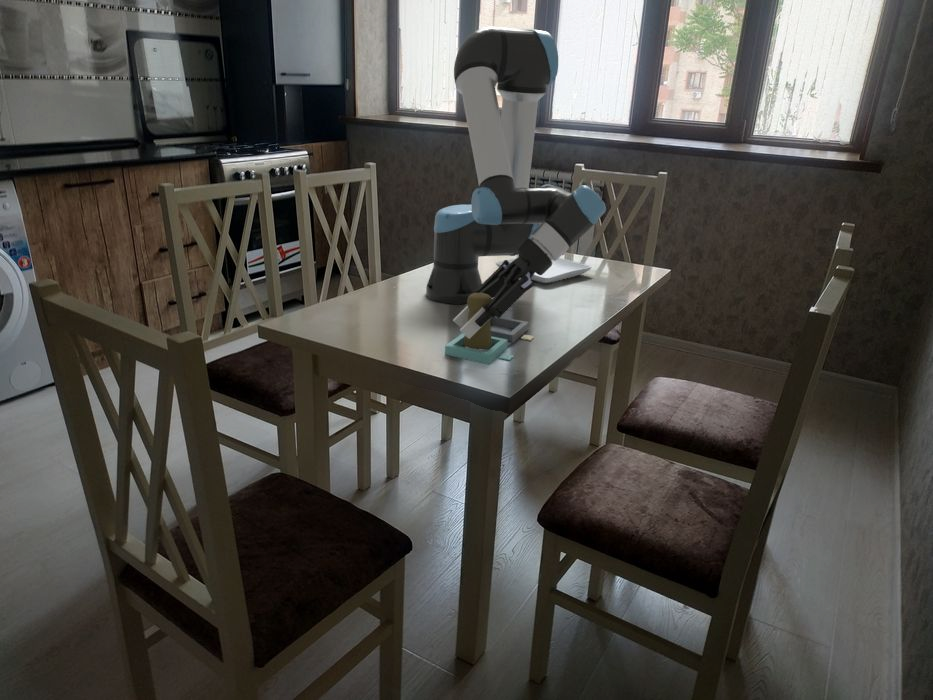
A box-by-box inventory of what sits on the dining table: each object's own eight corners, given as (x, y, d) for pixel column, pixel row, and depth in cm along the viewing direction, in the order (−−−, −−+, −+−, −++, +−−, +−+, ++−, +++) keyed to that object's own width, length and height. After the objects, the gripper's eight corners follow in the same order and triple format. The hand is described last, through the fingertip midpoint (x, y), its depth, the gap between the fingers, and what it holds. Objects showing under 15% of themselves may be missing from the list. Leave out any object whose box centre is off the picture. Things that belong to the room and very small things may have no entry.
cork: (485, 337, 144) (487, 288, 140) (496, 347, 139) (499, 297, 134) (459, 340, 142) (461, 291, 138) (469, 350, 136) (471, 299, 132)
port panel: (444, 354, 138) (445, 345, 138) (488, 322, 158) (488, 314, 157) (502, 367, 134) (503, 358, 133) (540, 332, 153) (540, 324, 152)
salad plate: (492, 272, 201) (493, 261, 199) (539, 262, 214) (540, 251, 213) (545, 289, 186) (546, 277, 185) (592, 277, 200) (593, 266, 198)
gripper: (569, 274, 129) (484, 357, 131) (536, 251, 146) (461, 325, 148) (546, 248, 126) (459, 333, 128) (515, 227, 142) (439, 304, 144)
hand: (461, 329), depth 138 cm, fingers closed on cork, 5 cm apart
